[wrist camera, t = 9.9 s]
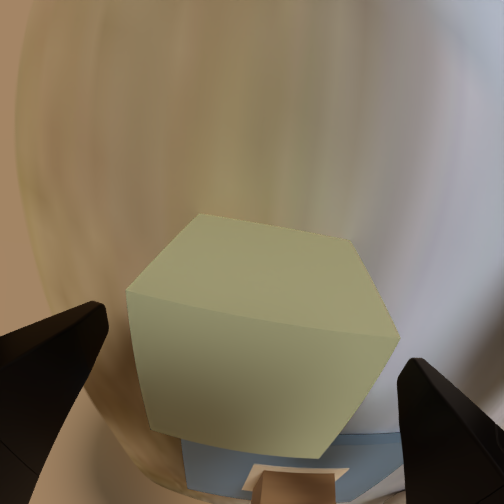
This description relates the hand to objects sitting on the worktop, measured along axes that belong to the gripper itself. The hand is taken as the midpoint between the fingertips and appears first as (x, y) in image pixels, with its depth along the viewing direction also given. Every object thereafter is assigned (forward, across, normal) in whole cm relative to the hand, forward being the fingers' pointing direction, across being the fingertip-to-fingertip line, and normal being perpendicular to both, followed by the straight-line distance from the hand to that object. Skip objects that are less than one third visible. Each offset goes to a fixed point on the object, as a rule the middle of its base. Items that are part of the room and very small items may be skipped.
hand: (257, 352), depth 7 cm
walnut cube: (+2, -5, +16) cm, 17 cm away
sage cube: (+3, 0, 0) cm, 3 cm away
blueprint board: (+3, -5, +16) cm, 17 cm away
